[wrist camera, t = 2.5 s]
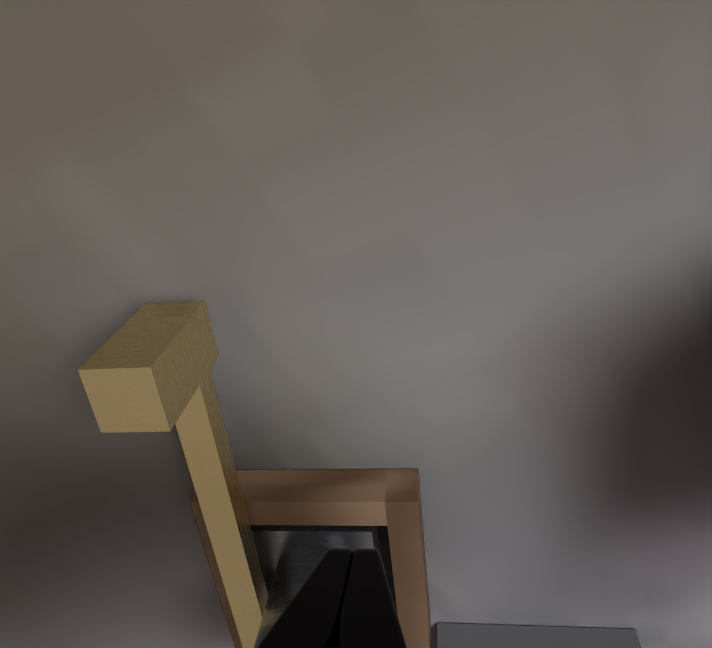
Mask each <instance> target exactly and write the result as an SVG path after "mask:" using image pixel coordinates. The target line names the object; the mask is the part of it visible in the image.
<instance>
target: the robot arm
mask: <svg viewBox="0 0 712 648" xmlns="http://www.w3.org/2000/svg"><path fill="white" fill-rule="evenodd" d="M257 648H407V646H406V643H405V639H404V636H403V632H402V629H401V625H400V622H399V618H398V615H397V611H396V608H395V604H394V601H393V598H392V594H391V591H390V587H389V584H388V580H387V577H386V573H385V570H384V566H383V563H382V559H381V556H380V553H379V551H378V549H375V548H357V549H355V551H353V549H351V548H330V549H329V550H328V551H327V552H326V553H325V555H324V556H323V557H322V559H321V560H320V561H319V563H318V564H317V566H316V567H315V568H314V570H313V571H312V573H311V574H310V575H309V577H308V578H307V579H306V581H305V582H304V584H303V585H302V586H301V588H300V589H299V590H298V592H297V593H296V595H295V596H294V597H293V599H292V600H291V601H290V603H289V604H288V606H287V607H286V608H285V610H284V611H283V612H282V614H281V615H280V617H279V618H278V619H277V621H276V622H275V623H274V625H273V626H272V628H271V629H270V630H269V632H268V633H267V634H266V636H265V637H264V639H263V640H262V641H261V643H260V644H259V645H258V647H257Z"/></svg>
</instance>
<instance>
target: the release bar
mask: <svg viewBox="0 0 712 648" xmlns="http://www.w3.org/2000/svg"><path fill="white" fill-rule="evenodd" d="M217 358H218V352H217V348H216V344H215V339H214V335H213V331H212V327H211V323H210V319H209V315H208V311H207V307H206V303H205V300H203V301H184V302H165V303H147V304H144V305H143V306H142V307H141V308H140V309H139V310H138V311H137V312H136V313H135V314H134V315H133V316H132V317H131V318H130V319H129V320H128V321H127V322H126V323H125V324H124V325H123V326H122V327H121V328H120V329H119V330H118V331H117V332H116V333H115V334H114V335H113V336H112V337H111V338H110V339H109V340H108V341H107V342H105V343H104V344H103V345H102V346H101V347H100V348H99V349H98V350H97V351H96V352H95V353H94V354H93V355H92V356H91V357H90V358H89V359H88V360H87V361H86V362H85V363H84V364H83V365H82V366H81V367H80V368H79V369H78V372H79V375H80V377H81V380H82V383H83V385H84V388H85V391H86V393H87V396H88V399H89V401H90V404H91V407H92V409H93V412H94V415H95V418H96V420H97V423H98V426H99V428H100V431H101V433H116V432H170V431H171V430H172V428H173V427H174V425H176V428H177V431H178V435H179V438H180V441H181V445H182V448H183V451H184V454H185V458H186V461H187V464H188V468H189V471H190V474H191V478H192V481H193V484H194V488H195V491H196V494H197V498H198V501H199V504H200V507H201V511H202V514H203V517H204V521H205V524H206V527H207V531H208V534H209V537H210V541H211V544H212V547H213V551H214V554H215V557H216V560H217V564H218V567H219V570H220V574H221V577H222V580H223V584H224V587H225V590H226V594H227V597H228V600H229V604H230V607H231V610H232V613H233V617H234V620H235V623H236V627H237V630H238V633H239V637H240V640H241V643H242V647H243V648H254V645H255V641H256V638H257V634H258V630H259V627H260V623H261V620H262V616H263V613H264V609H265V606H266V602H267V599H268V593H267V589H266V585H265V581H264V577H263V573H262V569H261V565H260V561H259V558H258V554H257V550H256V546H255V542H254V538H253V534H252V530H251V526H250V522H249V519H248V515H247V511H246V507H245V503H244V499H243V495H242V491H241V487H240V483H239V480H238V476H237V472H236V468H235V464H234V460H233V456H232V452H231V448H230V444H229V441H228V437H227V433H226V429H225V425H224V421H223V417H222V413H221V409H220V405H219V402H218V398H217V394H216V390H215V386H214V382H213V378H212V374H211V370H210V369H211V367H212V365H213V364H214V362H215V361H216V359H217Z"/></svg>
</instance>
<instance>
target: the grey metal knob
mask: <svg viewBox="0 0 712 648" xmlns="http://www.w3.org/2000/svg"><path fill="white" fill-rule="evenodd" d="M251 530H252V534H253V538H254V542H255V546H256V550H257V554H258V558H259V561H260V565H261V569H262V573H263V577H264V581H265V585H266V589H267V593H268V599H267V602H266V606H265V609H264V613H263V616H262V620H261V623H260V627H259V630H258V634H257V638H256V641H255V645H254V648H257V647H258V645H259V644H260V643H261V641H262V640H263V639H264V637H265V636H266V634H267V633H268V632H269V630H270V629H271V628H272V626H273V625H274V623H275V622H276V621H277V619H278V618H279V617H280V615H281V614H282V612H283V611H284V610H285V608H286V607H287V606H288V604H289V603H290V601H291V600H292V599H293V597H294V596H295V595H296V593H297V592H298V590H299V589H300V588H301V586H302V585H303V584H304V582H305V581H306V579H307V578H308V577H309V575H310V574H311V573H312V571H313V570H314V568H315V567H316V566H317V564H318V563H319V561H320V560H321V559H322V557H323V556H324V555H325V553H326V552H327V551H328V550H329V549H330V548H351V549H353V551H355V549H357V548H375V549H378V551H379V553H380V556H381V548H380V540H379V532H378V526H334V525H251ZM381 559H382V556H381Z"/></svg>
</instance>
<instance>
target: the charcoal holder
mask: <svg viewBox="0 0 712 648" xmlns="http://www.w3.org/2000/svg"><path fill="white" fill-rule="evenodd" d="M437 648H641V646H640V643H639V640H638V637H637V634H636V631H635V629H615V628H584V627H552V626H521V625H490V624H459V623H437Z"/></svg>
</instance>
